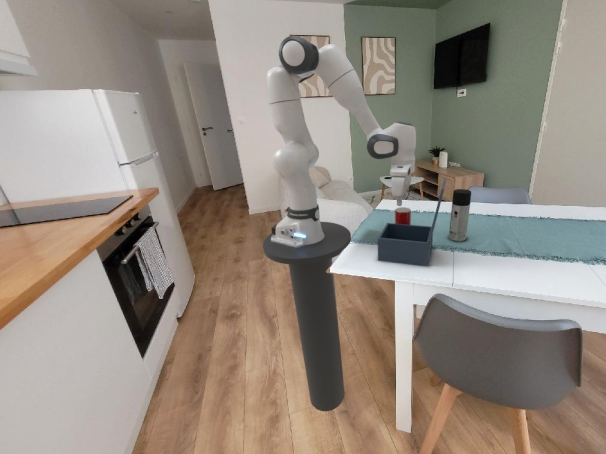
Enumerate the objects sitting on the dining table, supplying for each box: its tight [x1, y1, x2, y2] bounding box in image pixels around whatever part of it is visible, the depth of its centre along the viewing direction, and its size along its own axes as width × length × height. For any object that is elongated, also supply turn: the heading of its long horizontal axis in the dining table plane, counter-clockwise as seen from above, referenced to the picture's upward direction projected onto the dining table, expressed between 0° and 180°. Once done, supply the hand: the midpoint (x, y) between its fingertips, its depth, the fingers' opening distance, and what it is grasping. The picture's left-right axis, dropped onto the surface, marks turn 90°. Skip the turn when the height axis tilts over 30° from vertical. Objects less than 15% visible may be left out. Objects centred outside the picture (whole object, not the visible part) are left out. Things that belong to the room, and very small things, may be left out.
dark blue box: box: [377, 222, 434, 267], centre depth 106 cm, size 18×15×9 cm
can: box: [394, 206, 412, 225], centre depth 119 cm, size 6×6×12 cm
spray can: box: [448, 188, 472, 243], centre depth 114 cm, size 7×7×20 cm
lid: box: [428, 177, 447, 242], centre depth 98 cm, size 18×15×1 cm
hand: (401, 201), depth 115 cm, fingers open, 8 cm apart
